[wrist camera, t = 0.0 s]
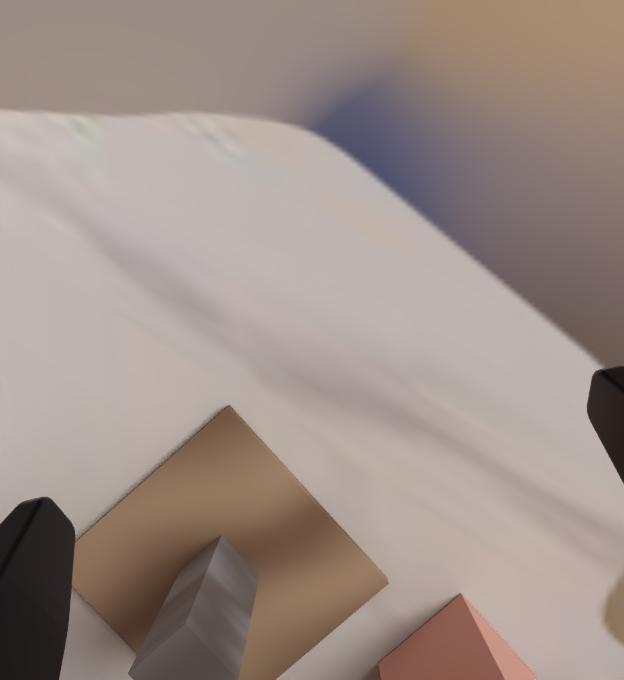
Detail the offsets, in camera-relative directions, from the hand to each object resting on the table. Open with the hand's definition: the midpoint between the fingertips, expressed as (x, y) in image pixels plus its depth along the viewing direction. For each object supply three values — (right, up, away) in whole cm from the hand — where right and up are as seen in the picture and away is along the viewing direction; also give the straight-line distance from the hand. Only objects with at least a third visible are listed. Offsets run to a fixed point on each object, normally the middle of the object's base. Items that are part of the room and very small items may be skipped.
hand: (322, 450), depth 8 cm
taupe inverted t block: (-4, -9, +16) cm, 18 cm away
